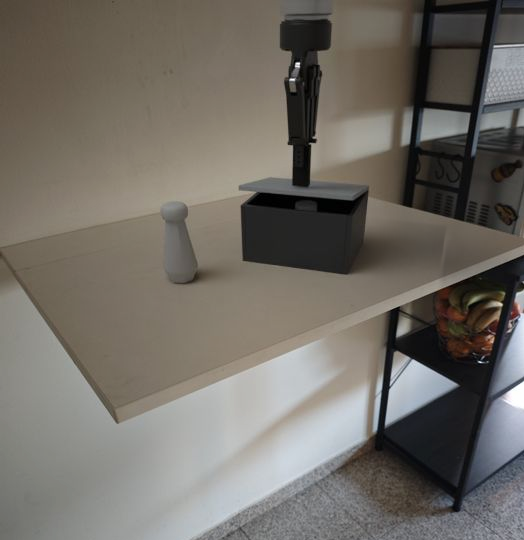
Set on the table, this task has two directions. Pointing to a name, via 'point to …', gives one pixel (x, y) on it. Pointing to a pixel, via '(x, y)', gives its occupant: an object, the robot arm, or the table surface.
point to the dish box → (303, 231)
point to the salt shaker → (177, 244)
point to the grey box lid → (306, 188)
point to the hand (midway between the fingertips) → (301, 185)
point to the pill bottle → (306, 205)
